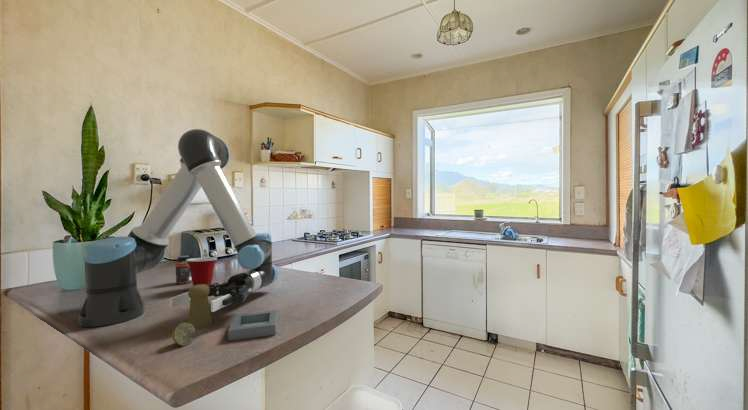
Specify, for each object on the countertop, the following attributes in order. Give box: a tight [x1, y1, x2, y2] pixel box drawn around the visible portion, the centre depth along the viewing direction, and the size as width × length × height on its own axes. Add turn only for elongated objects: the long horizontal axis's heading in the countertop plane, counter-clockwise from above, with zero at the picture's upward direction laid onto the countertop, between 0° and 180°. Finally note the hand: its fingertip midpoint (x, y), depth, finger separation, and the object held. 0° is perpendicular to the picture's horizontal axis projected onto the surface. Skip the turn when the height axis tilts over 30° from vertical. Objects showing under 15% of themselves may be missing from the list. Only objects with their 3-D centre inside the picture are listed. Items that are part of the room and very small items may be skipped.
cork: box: [187, 284, 213, 330], centre depth 85 cm, size 6×6×11 cm
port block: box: [227, 309, 278, 342], centre depth 82 cm, size 11×11×2 cm
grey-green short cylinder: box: [171, 321, 197, 347], centre depth 74 cm, size 4×5×5 cm
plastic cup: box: [186, 256, 218, 286], centre depth 122 cm, size 11×11×12 cm
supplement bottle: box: [175, 255, 193, 285], centre depth 131 cm, size 6×6×11 cm
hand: (190, 305), depth 82 cm, fingers open, 13 cm apart
